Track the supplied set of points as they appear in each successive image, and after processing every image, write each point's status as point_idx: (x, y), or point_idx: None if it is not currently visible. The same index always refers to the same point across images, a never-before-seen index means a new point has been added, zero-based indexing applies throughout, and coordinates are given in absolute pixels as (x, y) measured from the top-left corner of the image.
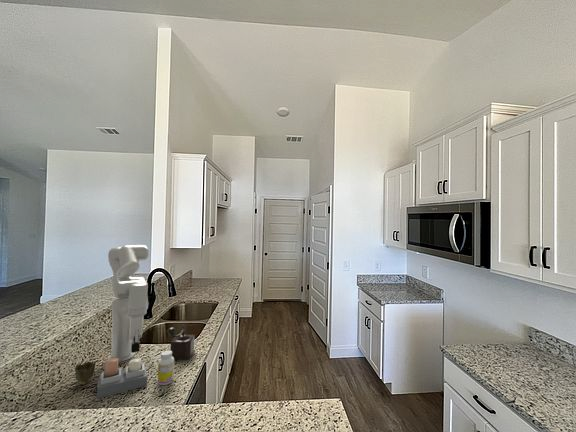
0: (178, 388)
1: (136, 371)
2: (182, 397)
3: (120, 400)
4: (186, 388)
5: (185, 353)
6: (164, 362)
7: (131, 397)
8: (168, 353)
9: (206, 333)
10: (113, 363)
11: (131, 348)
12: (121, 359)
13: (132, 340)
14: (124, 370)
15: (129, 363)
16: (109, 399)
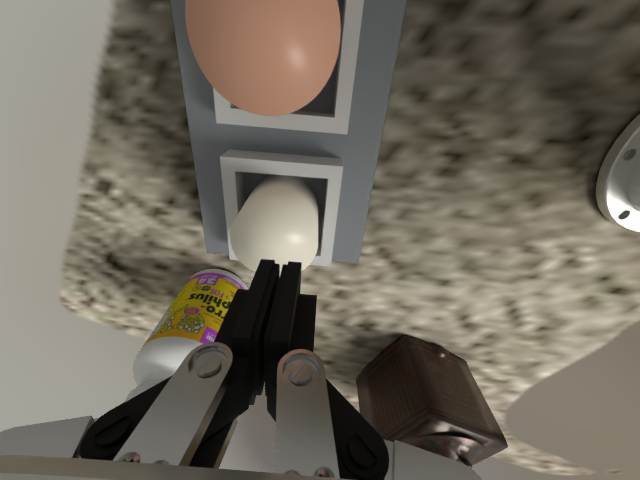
0: (145, 314)
1: (226, 218)
2: (75, 312)
3: (122, 102)
4: (136, 332)
5: (367, 395)
6: (133, 368)
7: (135, 155)
8: None
9: (529, 451)
10: (195, 50)
11: (282, 282)
12: (623, 153)
13: (277, 380)
14: (359, 153)
15: (262, 199)
16: (154, 42)
